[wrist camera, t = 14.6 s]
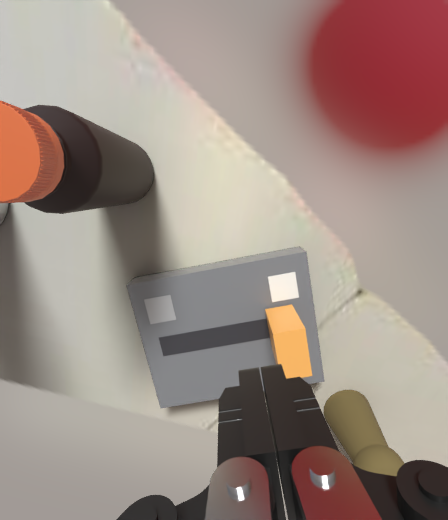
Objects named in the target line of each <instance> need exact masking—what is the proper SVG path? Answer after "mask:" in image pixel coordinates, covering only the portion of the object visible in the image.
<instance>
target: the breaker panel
mask: <svg viewBox="0 0 448 520" xmlns="http://www.w3.org/2000/svg"><path fill="white" fill-rule="evenodd" d="M127 289H128V293H129V296H130V300H131V303H132V307H133V311H134V314H135V318H136V321H137V325H138V329H139V332H140V336H141V339H142V343H143V347H144V350H145V354H146V357H147V361H148V364H149V368H150V372H151V375H152V379H153V382H154V386H155V390H156V393H157V397H158V400H159V404H160V408H166V407H172V406H178V405H185V404H191V403H197V402H203V401H209V400H215V399H219V398H220V396H221V395H222V393H223V391H224V389H225V388H228V387H234V386H239V373H238V370H244V369H250V368H257V367H259V371H260V376H261V381H262V386H263V380H262V373H261V367H263V366H270V365H276V361H275V358H274V354H273V351H272V346H271V340H270V334H269V329H268V323H267V317H266V312H265V309H269V308H274V307H280V306H286V305H291V304H292V305H293V307H294V309H295V311H296V313H297V314H298V316H299V318H300V320H301V321H302V323H303V325H304V327H305V330H306V336H307V343H308V350H309V357H310V363H311V370H312V376H310V377H304V378H302V379H303V380H304V381H306V382H307V383H308V384H312V383H318V382H324V375H323V368H322V361H321V353H320V346H319V339H318V332H317V325H316V317H315V310H314V303H313V296H312V289H311V282H310V274H309V267H308V260H307V253H306V251H305V250H304V249H303V248H301V247H294V248H289V249H284V250H278V251H273V252H268V253H262V254H257V255H252V256H247V257H241V258H236V259H231V260H225V261H220V262H215V263H209V264H204V265H199V266H194V267H188V268H183V269H178V270H172V271H167V272H162V273H156V274H151V275H146V276H141V277H135V278H133V279H132V280H131V281H130V282H129V283H128V284H127ZM263 391H264V386H263Z"/></svg>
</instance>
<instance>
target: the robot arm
mask: <svg viewBox="0 0 448 520" xmlns="http://www.w3.org/2000/svg"><path fill="white" fill-rule="evenodd" d="M7 210H8V203H0V224H1V223H2V222H3V220H4V218H5V216H6V214H7ZM238 373H239V386H234V387H228V388H225V389H224V391H223V393H222V395H221V396H220V398H219V420H218V421H219V424H218V464H217V469H216V470H215V471H214V473H213V474H212V477H211V480H210V484H209V486H208V487H207V488H206V489H205V490H204V491H203V492H201V493H200V494H198V495H197V496H195V497H194V498H191V499H189V500H187V501H185V502H183V503H181V504H179V505H177V506H175V505H174V504H173V502H172V501H171V500H170V499H169V498H167V497H165V496H161V495H150V496H146V497H144V498H141V499H139V500H138V501H136V502H135V503H133V504H132V505H131V506H129V507H128V508H127V509H126V510H125V511H124V512H123V513H122V514H121V515H120V517H119V518H118V519H117V520H286V517H285V511H284V504H283V498H282V491H281V486H280V479H281V484H282V489H283V494H284V500H285V504H286V509H287V515H288V519H289V520H448V467H445V466H443V465H441V464H438V463H435V462H431V461H426V460H415V461H410V462H407V463H405V464H404V465H402V466H401V467H400V468H399V470H398V472H397V476H391V475H385V474H379V473H373V472H369V471H366V470H363V469H361V468H358V467H356V466H355V465H353V464H352V463H350V462H349V460H348V459H347V458H346V457H345V456H344V455H343V454H342V453H340V452H339V450H338V448H337V446H336V443H335V441H334V439H333V437H332V434H331V432H330V430H329V427H328V425H327V423H326V421H325V418H324V416H323V414H322V411H321V409H320V407H319V404H318V402H317V400H316V398H315V395H314V393H313V391H312V388H311V386H310V385H309V384H308V383H307V382H306V381H304V380H303V379H302V378H301V377H294V378H287V379H286V376H285V373H284V370H283V367H282V365H281V364H276V365H270V366H263V367H261V373H262V380H263V386H264V391H263V386H262V381H261V376H260V371H259V367H257V368H250V369H244V370H238ZM264 392H265V396H264ZM265 399H266V402H265ZM266 405H267V407H266ZM267 411H268V412H267ZM276 458H277V460H276ZM277 464H278V466H277ZM278 469H279V472H278ZM279 474H280V479H279Z"/></svg>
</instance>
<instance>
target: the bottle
mask: <svg viewBox="0 0 448 520" xmlns="http://www.w3.org/2000/svg"><path fill="white" fill-rule="evenodd" d="M152 182H153V167H152V163H151V160H150V158H149V157H148V155H147V153H146V152H145V151H144V150H143V149H142V148H141V147H140V146H138V145H137V144H135V143H133V142H131V141H129V140H127V139H125V138H123V137H121V136H119V135H117V134H115V133H113V132H111V131H109V130H107V129H105V128H103V127H101V126H98V125H96V124H94V123H92V122H90V121H88V120H86V119H84V118H82V117H80V116H78V115H76V114H74V113H72V112H69V111H67V110H64V109H62V108H60V107H57V106H47V105H37V106H33V107H30V108H26V109H21V108H19V107H16V106H13V105H11V104H8V103H6V102H3V101H0V203H15V202H24V203H26V204H27V205H28V206H30V207H33V208H35V209H38V210H40V211H43V212H46V213H59V214H64V213H70V212H77V211H83V210H89V209H96V208H102V207H109V206H115V205H122V204H128V203H132V202H136V201H138V200H139V199H141V198H142V197H144V196H145V195H146V193H147V192H148V191H149V189H150V187H151V185H152Z"/></svg>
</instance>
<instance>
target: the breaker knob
mask: <svg viewBox="0 0 448 520" xmlns="http://www.w3.org/2000/svg"><path fill="white" fill-rule="evenodd" d="M265 312H266V317H267V323H268V329H269V334H270V340H271V346H272V351H273V354H274V358H275V361H276V364H281V365H282V367H283V370H284V373H285V376H286V379H287V378H294V377H301V378H304V377H310V376H312V370H311V363H310V357H309V350H308V343H307V336H306V330H305V327H304V325H303V323H302V321H301V320H300V318H299V316H298V314H297V313H296V311H295V309H294V307H293V305H292V304H291V305H286V306H280V307H274V308H269V309H265Z"/></svg>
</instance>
